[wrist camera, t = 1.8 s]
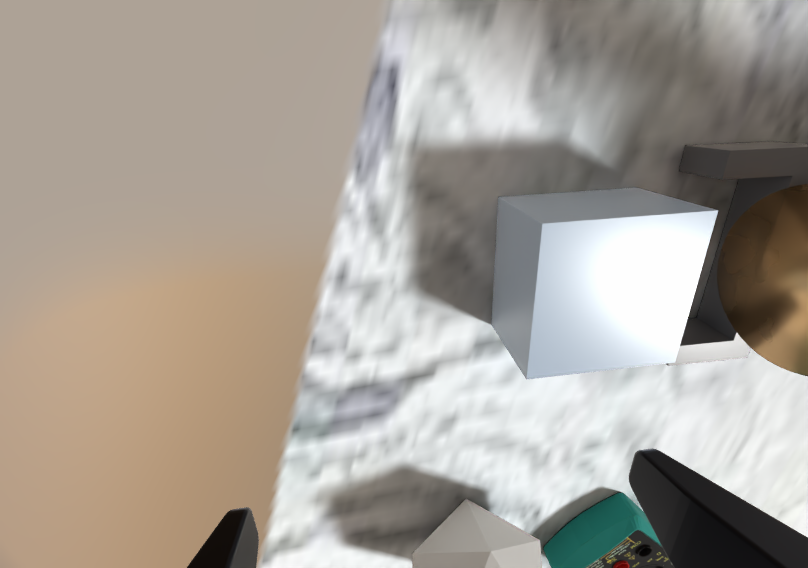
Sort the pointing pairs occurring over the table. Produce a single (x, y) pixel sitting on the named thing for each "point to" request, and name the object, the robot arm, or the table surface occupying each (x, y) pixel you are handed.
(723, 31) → the table surface
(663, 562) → the digital multimeter
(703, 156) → the clip bracket
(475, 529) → the die
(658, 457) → the robot arm
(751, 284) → the cylinder
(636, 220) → the blue-gray block
